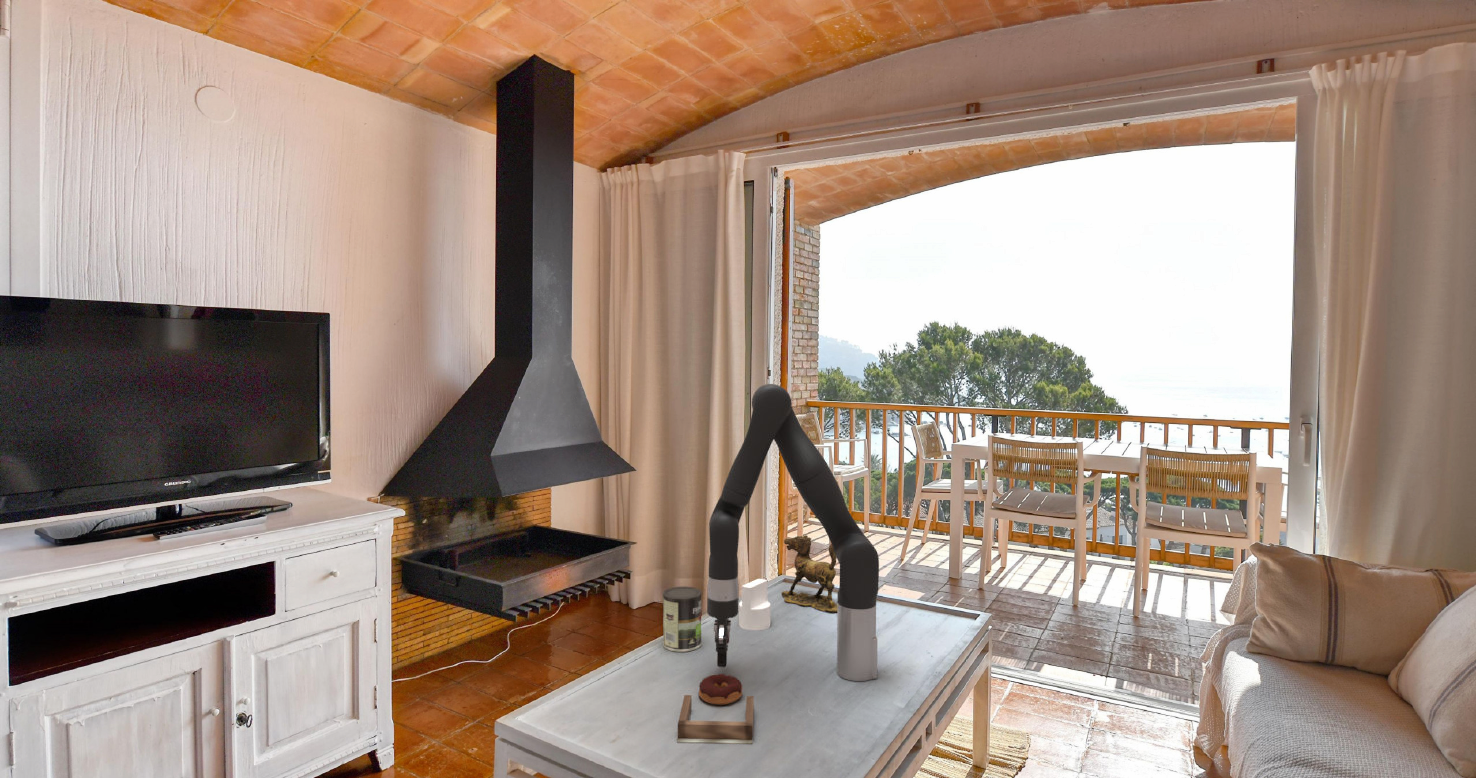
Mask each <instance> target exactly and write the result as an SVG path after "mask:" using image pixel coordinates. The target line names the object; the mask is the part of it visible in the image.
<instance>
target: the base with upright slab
mask: <svg viewBox="0 0 1476 778" xmlns="http://www.w3.org/2000/svg"><path fill="white" fill-rule="evenodd" d="M770 626H771V602H769V601H768V579H764V578H757V579H755V580H752V581H750V582H748V583H744V584H743V585H741V601H740V602H739V604H738V627H740V628H741V629H744V630H747V631H755V632H756V631H764V630H767V629H769V628H770Z"/></svg>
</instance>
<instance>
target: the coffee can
mask: <svg viewBox="0 0 1476 778" xmlns="http://www.w3.org/2000/svg"><path fill="white" fill-rule="evenodd" d="M702 595H703V592H702V590H701V589H699V588H696V587H693V586H674V587H670V588H666V589H665V590H663V592H662V597H663V598H662V599H663V600H662V602H663V605H662V606H663V609H662V610H663V611H662V612H663V615H662V616H663V620H662V621H663V622H662V623H663V624H662V626H663V642H662V643H663V645H662V646H663V648H664V649H665V650H668V651H671V652H676V653H687V652H692V651H695V650H698V649H699V648H700V647H702Z"/></svg>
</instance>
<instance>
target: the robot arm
mask: <svg viewBox="0 0 1476 778" xmlns="http://www.w3.org/2000/svg"><path fill="white" fill-rule="evenodd" d="M792 403H793V402H792V398H791V395H790V393H789V392H788V391H787V390H786V388H784V387H782V386H781V385H778V384H774V383H766V384H764V385H761V386H759V387H758V388H756V390H755V392H754V393H753V395H752V398H751V408H752V412H751V416H750V422H749V426H748V430H747V432H746V435H745V438H744V440H743V442H742V444H741V447H740V449H739V451H738V452H737V454H736V457H735V459H734V461H733V463H732V464H731V467H730V470H729V472H728V475H727V477H726V478H725V479H726V480H725V482H724V485H723V488H722V490H721V494H720V497H719V499H718V501H717V503H716V505H715V507H714V509H713V510H712V513H711V516H710V518H709V523H708V525H709V526H708V528H709V529H708V530H709V531H708V532H709V558H708V578H707V579H708V580H707V585H706V587H707V590H706V591H707V594H706V595H707V596H706V613H707V615H708V616H709V617H710V618H714V623H713V631H714V642H715V651H716V652H717V653H716V657H717V660H716V661H717V662H716V664H717V665H716V666H717V667H719V668H726V667H727V664H728V662H727V661H728V650H729V649H728V648H729V645H728V644H729V643H730V638H731V637H730V636H731V630H732V629H731V626H732V620H731V619H733V618H735V617H736V616H738V615H739V603H740V602H739V599H740V598H739V595H740V593H739V592H740V591H739V588H740V587H739V585H740V584H739V557H738V552H739V550H738V549H739V541H740V540H739V538H740V527H739V526H740V525H739V524H740V521H741V518H742V516H743V513H744V510H745V507H746V506H747V505H748V504H749V503H750V501H751V498H752V495H753V494H754V491H755V488H756V485H757V483H758V481H759V477H760V474H761V471H762V470H763V466H764V463H765V461H766V458H767V454H768V452H769V450H770V448H771V446H772V444H773V441H774V443H775V444H776V447H777V448H778V450H779V453H780V456H781V458H782V460H783V464H784V465H785V468H786V470H787V472H788V474H789V476H790V478H791V480H792V482H793V484H794V486H795V487H796V489H797V491H798V493H799V494H800V496H801V498H802V500H803V501H804V503H805V504H806V505H807V507H808V508H809V510H810V511H811V512H812V513H813V515H814V516H815V517H816V518H817V520H818V521H819V522H820V524H821V525H822V527H823V529H824V531H825V532H826V534H827V537H828V539H829V541H830V545H831V544H832V546H833V549H834V551H835V554H836V557H837V559H836V560H837V561H838V563H839V588H838V590H837V599H836V600H837V601H836V602H837V603H836V604H837V613H836V614H837V616H836V617H837V619H836V620H837V621H836V626H837V627H836V631H837V632H836V641H837V642H836V673H837V675H838V676H839V677H841V678H842V679H845V680H848V681H852V682H865V681H870V680H875V679H878V637H877V596H878V594H879V581H880V579H879V576H880V560H879V554H878V551H877V549H876V548H875V546H874V545H873V543H872V542H871V541H870V540H869V538H868V537H867V536H866V535H865V534H864V532H863V531H862V529H861V528H860V527H859V525H858V524H857V522H856V521H855V520H854V518H853V515H851V513H850V511H849V508H848V506H847V502H846V501H845V498H844V495H843V493H842V489H841V487H840V485H839V484H838V481H837V479H836V477H835V476H834V473H833V472H832V470H831V468H830V466H829V464H828V462H827V461H826V460H825V458H824V457H823V454H821V452H820V451H819V449H818V448H817V447H816V445H815V444H814V442H812V441H813V440H811V439H810V438H809V436H808V435H807V434H806V432H805V431H804V429H803V427H802V426H801V424H800V422H799V420H798V418H797V415H796V413H795V411H794V408H793V406H792Z"/></svg>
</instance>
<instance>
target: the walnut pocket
mask: <svg viewBox="0 0 1476 778" xmlns="http://www.w3.org/2000/svg"><path fill="white" fill-rule="evenodd" d="M754 701H755V699H754V696H752V695H749V696H748V695H747V696H746V701H745V720H744V721H732V720H731V721H726V720H725V721H723V720H722V721H720V720H690V717H691V712H692V695H691V694H685V695H684V697H683V701H682V705H681V707H680V714H679V718H678V721H677V740H676V743H677V744H682V743H683V744H684V743H685V744H686V743H687V744H689V743H690V744H722V745H723V744H727V745H728V744H729V745H731V744H732V745H734V744H735V745H753V737H754V710H755V709H754V706H755V705H754Z"/></svg>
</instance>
